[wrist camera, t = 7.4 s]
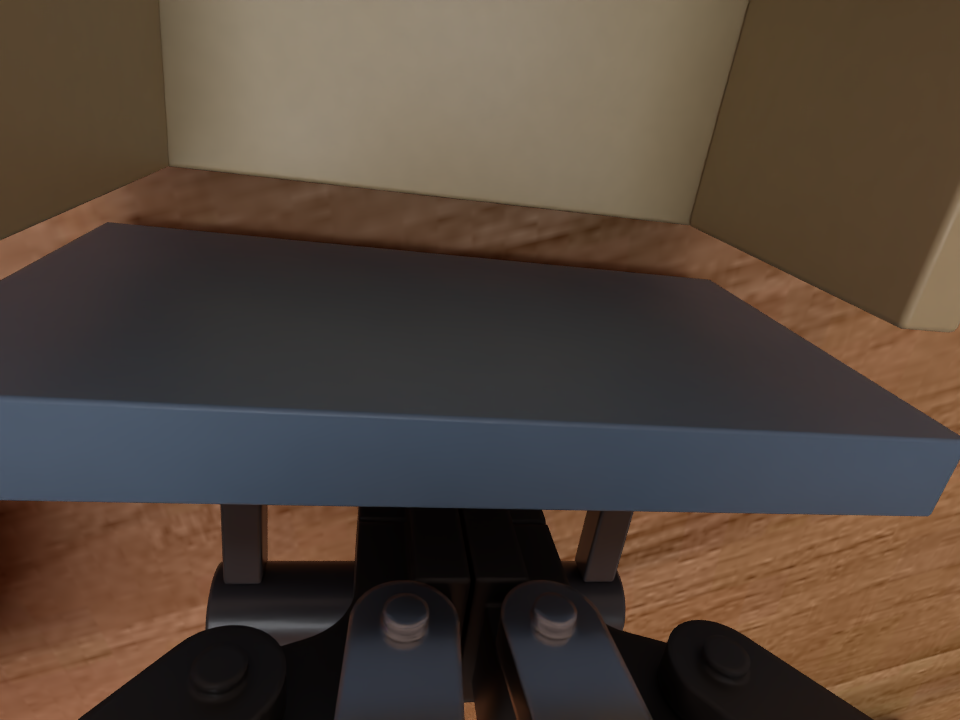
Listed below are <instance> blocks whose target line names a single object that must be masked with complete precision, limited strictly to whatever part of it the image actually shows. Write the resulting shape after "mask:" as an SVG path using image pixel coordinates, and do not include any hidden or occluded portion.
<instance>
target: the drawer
mask: <svg viewBox="0 0 960 720" xmlns="http://www.w3.org/2000/svg"><path fill="white" fill-rule="evenodd" d="M168 166H171V167H180V168H189V169H198V170H206V171H215V172H224V173H233V174H242V175H251V176H259V177H268V178H277V179H286V180H295V181H303V182H312V183H321V184H330V185H339V186H348V187H356V188H365V189H374V190H383V191H392V192H400V193H409V194H418V195H427V196H436V197H445V198H453V199H462V200H471V201H480V202H489V203H497V204H506V205H515V206H524V207H533V208H541V209H550V210H559V211H568V212H577V213H586V214H594V215H603V216H612V217H621V218H630V219H638V220H647V221H656V222H665V223H674V224H683V225H691V226H692V227H694V228H696V229H698V230H700V231H702V232H704V233H706V234H708V235H710V236H712V237H714V238H716V239H719V240H721V241H723V242H725V243H727V244H729V245H731V246H733V247H735V248H737V249H739V250H741V251H743V252H745V253H747V254H749V255H751V256H753V257H755V258H757V259H760V260H762V261H764V262H766V263H768V264H770V265H772V266H774V267H776V268H778V269H780V270H782V271H784V272H786V273H788V274H790V275H792V276H794V277H796V278H798V279H801V280H803V281H805V282H807V283H809V284H811V285H813V286H815V287H817V288H819V289H821V290H823V291H825V292H827V293H829V294H831V295H833V296H835V297H837V298H839V299H842V300H844V301H846V302H848V303H850V304H852V305H854V306H856V307H858V308H860V309H862V310H864V311H866V312H868V313H870V314H872V315H874V316H876V317H878V318H880V319H883V320H885V321H887V322H889V323H891V324H893V325H895V326H897V327H899V328H901V329H913V330H925V331H937V332H953V331H955V330H956V329H957V328H958V325H959V323H960V0H0V240H2V239H4V238H6V237H9V236H11V235H13V234H15V233H18V232H20V231H22V230H25V229H27V228H29V227H31V226H34V225H36V224H38V223H40V222H43V221H45V220H47V219H50V218H52V217H54V216H56V215H59V214H61V213H63V212H66V211H68V210H70V209H72V208H75V207H77V206H79V205H81V204H84V203H86V202H88V201H91V200H93V199H95V198H97V197H100V196H102V195H104V194H107V193H109V192H111V191H113V190H116V189H118V188H120V187H122V186H125V185H127V184H129V183H132V182H134V181H136V180H138V179H141V178H143V177H145V176H147V175H150V174H152V173H154V172H157V171H159V170H161V169H163V168H166V167H168ZM959 460H960V436H959V435H958V434H956V433H955V432H953V431H951V430H950V429H948V428H947V427H945V426H943V425H942V424H940V423H939V422H937V421H935V420H934V419H932V418H931V417H929V416H927V415H926V414H924V413H922V412H921V411H919V410H918V409H916V408H914V407H913V406H911V405H910V404H908V403H906V402H905V401H903V400H902V399H900V398H898V397H897V396H895V395H894V394H892V393H890V392H889V391H887V390H886V389H884V388H882V387H881V386H879V385H878V384H876V383H874V382H873V381H871V380H870V379H868V378H866V377H865V376H863V375H861V374H860V373H858V372H857V371H855V370H853V369H852V368H850V367H849V366H847V365H845V364H844V363H842V362H841V361H839V360H837V359H836V358H834V357H833V356H831V355H829V354H828V353H826V352H825V351H823V350H821V349H820V348H818V347H817V346H815V345H813V344H812V343H810V342H809V341H807V340H805V339H804V338H802V337H800V336H799V335H797V334H796V333H794V332H792V331H791V330H789V329H788V328H786V327H784V326H783V325H781V324H780V323H778V322H776V321H775V320H773V319H772V318H770V317H768V316H767V315H765V314H764V313H762V312H760V311H759V310H757V309H756V308H754V307H752V306H751V305H749V304H748V303H746V302H744V301H743V300H741V299H739V298H738V297H736V296H735V295H733V294H731V293H730V292H728V291H727V290H725V289H723V288H722V287H720V286H719V285H717V284H715V283H714V282H712V281H711V280H705V279H695V278H684V277H674V276H663V275H653V274H642V273H632V272H621V271H611V270H601V269H590V268H580V267H569V266H559V265H548V264H538V263H528V262H517V261H507V260H496V259H486V258H475V257H465V256H454V255H444V254H434V253H423V252H413V251H402V250H392V249H381V248H371V247H360V246H350V245H340V244H329V243H319V242H308V241H298V240H287V239H277V238H266V237H256V236H246V235H235V234H225V233H214V232H204V231H193V230H183V229H172V228H162V227H152V226H141V225H131V224H120V223H110V222H107V223H105V224H103V225H101V226H99V227H97V228H96V229H94V230H92V231H90V232H88V233H86V234H85V235H83V236H81V237H79V238H77V239H75V240H74V241H72V242H70V243H68V244H66V245H64V246H63V247H61V248H59V249H57V250H55V251H53V252H52V253H50V254H48V255H46V256H44V257H42V258H41V259H39V260H37V261H35V262H33V263H31V264H30V265H28V266H26V267H24V268H22V269H20V270H19V271H17V272H15V273H13V274H11V275H9V276H8V277H6V278H4V279H2V280H0V500H13V501H71V502H129V503H187V504H220V506H221V531H222V556H223V562H221V563H220V564H219V565H218V567H217V569H216V571H215V574H214V577H213V580H212V584H211V588H210V593H209V598H208V605H207V613H206V627H205V630H207V629H210V628H214V627H219V626H226V625H244V626H250V627H254V628H257V629H260V630H262V631H264V632H266V633H268V634H269V635H271V636H272V637H273V638H274V639H275V640H276V641H277V642H278V643H279V644H280V646H283V645H286V644H290V643H293V642H296V641H300V640H303V639H306V638H309V637H312V636H314V635H317V634H319V633H321V632H323V631H325V630H326V629H328V628H329V627H331V626H332V625H334V624H335V623H336V622H337V621H338V620H340V619H341V618H342V617H343V615H344V614H345V613H346V612H347V610H348V609H349V607H350V605H351V603H352V601H353V586H354V567H355V561H267V560H268V538H267V505H302V506H360V507H418V508H476V509H534V510H587V513H586V517H585V521H584V525H583V529H582V533H581V537H580V541H579V545H578V549H577V553H576V557H575V561H561V563H562V566H563V569H564V571H565V574H566V577H567V579H568V582H569V585H570V587H572V588H574V589H576V590H577V591H579V592H580V593H582V594H583V595H585V596H586V597H587V598H588V599H589V600H590V601H591V602H592V603H593V604H594V605H595V606H596V608H597V609H598V611H599V612H600V614H601V616H602V618H603V620H604V622H605V624H607V625H609V626H611V627H614V628H616V629H618V630H621V631H622V630H623V627H624V622H625V597H624V590H623V586H622V582H621V579H620V576H619V574H618V571H617V567H618V564H619V560H620V557H621V554H622V550H623V547H624V543H625V540H626V536H627V533H628V529H629V526H630V522H631V519H632V515H633V512H634V511H649V512H707V513H765V514H823V515H881V516H929V515H930V514H931V513H932V511H933V509H934V507H935V505H936V503H937V502H938V500H939V498H940V496H941V494H942V492H943V490H944V488H945V486H946V484H947V483H948V481H949V479H950V477H951V475H952V473H953V471H954V469H955V467H956V466H957V464H958V462H959Z"/></svg>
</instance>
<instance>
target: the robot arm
mask: <svg viewBox="0 0 960 720" xmlns="http://www.w3.org/2000/svg"><path fill="white" fill-rule="evenodd" d="M545 522H546V520H545V517H544V515H543V512H542V510H534V509H476V508H418V507H360V506H359V507H358V521H357V534H356V548H355V567H354V586H353V601H352V603H351V605H350V607H349V609H348V610H347V612H346V613H345V614H344V615H343V617H342V618H341V619H340V620H338V621H337V622H336V623H335V624H334V625H332V626H331V627H329V628H328V629H326V630H325V631H323V632H321V633H319V634H317V635H314V636H312V637H309V638H306V639H303V640H300V641H296V642H293V643H290V644H286V645H283V646H280V644H279V643H278V642H277V641H276V640H275V639H274V638H273V637H272V636H271V635H269V634H268V633H266V632H264V631H262V630H260V629H257V628H254V627H250V626H244V625H226V626H219V627H214V628H210V629H207V630H204V631H202V632H199V633H197V634H195V635H193V636H191V637H189V638H187V639H186V640H184V641H183V642H181V643H180V644H178V645H177V646H175V647H174V648H173V649H171V650H170V651H169V652H167V653H166V654H165V655H163V656H162V657H161V658H159V659H158V660H157V661H155V662H154V663H153V664H151V665H150V666H149V667H147V668H146V669H145V670H143V671H142V672H141V673H139V674H138V675H137V676H135V677H134V678H133V679H131V680H130V681H129V682H127V683H126V684H125V685H123V686H122V687H121V688H119V689H118V690H117V691H115V692H114V693H113V694H111V695H110V696H109V697H107V698H106V699H105V700H103V701H102V702H101V703H99V704H98V705H97V706H95V707H94V708H93V709H91V710H90V711H89V712H87V713H86V714H85V715H83V716H82V717H81V718H79V719H78V720H465V719H464V702H474V703H475V710H476V716H477V720H873V719H872V718H870V717H869V716H867V715H865V714H864V713H862V712H861V711H859V710H858V709H856V708H855V707H853V706H852V705H850V704H849V703H847V702H846V701H844V700H842V699H841V698H839V697H838V696H836V695H835V694H833V693H832V692H830V691H829V690H827V689H826V688H824V687H823V686H821V685H819V684H818V683H816V682H815V681H813V680H812V679H810V678H809V677H807V676H806V675H804V674H803V673H801V672H800V671H798V670H796V669H795V668H793V667H792V666H790V665H789V664H787V663H786V662H784V661H783V660H781V659H780V658H778V657H777V656H775V655H773V654H772V653H770V652H769V651H767V650H766V649H764V648H763V647H761V646H760V645H758V644H757V643H755V642H753V641H752V640H750V639H749V638H747V637H746V636H744V635H743V634H741V633H739V632H738V631H736V630H734V629H732V628H730V627H727V626H725V625H722V624H719V623H716V622H712V621H706V620H691V621H687V622H684V623H682V624H680V625H678V626H677V627H676V628H674V629H673V631H672V632H671V634H670V636H669V639H668V642H667V643H666V642H662V641H658V640H654V639H651V638H647V637H643V636H639V635H635V634H631V633H628V632H624V631H621V630H618V629H616V628H614V627H611V626H609V625H607V624H605V622H604V620H603V618H602V616H601V614H600V612H599V611H598V609H597V608H596V606H595V605H594V604H593V603H592V602H591V601H590V600H589V599H588V598H587V597H586V596H585V595H583V594H582V593H580V592H579V591H577V590H576V589H574V588H572V587H570V585H569V582H568V579H567V577H566V574H565V571H564V569H563V566H562V563H561V560H560V558H559V555H558V552H557V550H556V547H555V544H554V542H553V539H552V536H551V533H550V531H549V528H548V525H546V523H545Z"/></svg>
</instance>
